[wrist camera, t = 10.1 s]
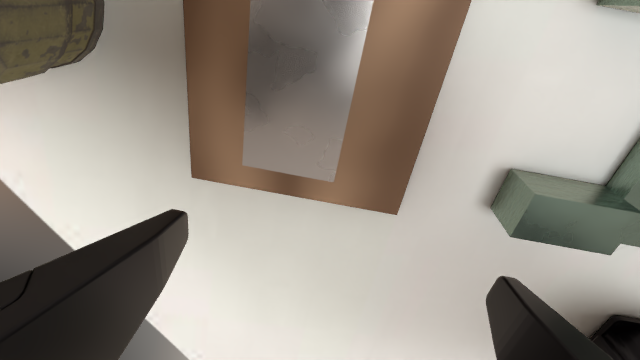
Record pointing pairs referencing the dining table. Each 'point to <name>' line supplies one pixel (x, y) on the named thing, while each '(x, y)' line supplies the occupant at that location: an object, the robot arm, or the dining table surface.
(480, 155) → the dining table surface
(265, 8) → the steel bar
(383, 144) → the walnut mat
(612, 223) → the green base
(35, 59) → the thermos
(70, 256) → the robot arm
